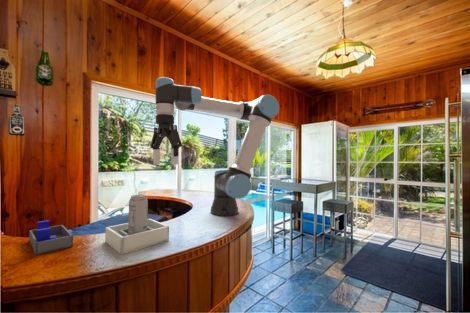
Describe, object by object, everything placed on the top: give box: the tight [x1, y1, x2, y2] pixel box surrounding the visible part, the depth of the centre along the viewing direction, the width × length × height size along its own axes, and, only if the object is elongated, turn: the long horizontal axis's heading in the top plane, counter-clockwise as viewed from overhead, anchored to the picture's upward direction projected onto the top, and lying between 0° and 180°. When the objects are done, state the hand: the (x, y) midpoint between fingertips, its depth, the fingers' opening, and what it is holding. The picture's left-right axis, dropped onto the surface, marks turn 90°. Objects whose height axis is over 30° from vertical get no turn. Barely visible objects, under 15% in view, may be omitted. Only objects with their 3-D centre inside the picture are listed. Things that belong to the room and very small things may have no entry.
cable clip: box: [36, 219, 56, 242], centre depth 72 cm, size 12×4×6 cm, turn 42°
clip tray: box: [28, 224, 74, 256], centre depth 73 cm, size 9×16×4 cm, turn 48°
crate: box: [104, 218, 170, 255], centre depth 77 cm, size 16×14×5 cm
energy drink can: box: [127, 194, 149, 235], centre depth 77 cm, size 6×6×15 cm
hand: (165, 164), depth 95 cm, fingers open, 13 cm apart
